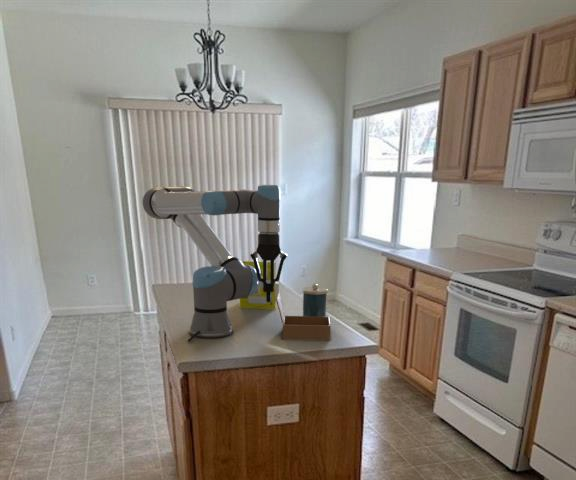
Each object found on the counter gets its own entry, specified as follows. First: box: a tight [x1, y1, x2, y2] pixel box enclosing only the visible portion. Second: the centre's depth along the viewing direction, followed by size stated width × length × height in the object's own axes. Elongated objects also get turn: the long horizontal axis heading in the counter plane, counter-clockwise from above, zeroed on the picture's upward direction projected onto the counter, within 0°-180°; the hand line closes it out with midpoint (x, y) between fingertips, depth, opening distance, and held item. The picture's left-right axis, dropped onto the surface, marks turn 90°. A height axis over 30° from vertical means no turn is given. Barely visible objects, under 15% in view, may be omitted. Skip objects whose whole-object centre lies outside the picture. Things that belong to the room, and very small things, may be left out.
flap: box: [275, 292, 286, 324], centre depth 192 cm, size 8×13×1 cm
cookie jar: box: [302, 283, 329, 317], centre depth 205 cm, size 10×10×16 cm
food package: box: [239, 260, 277, 310], centre depth 227 cm, size 15×1×20 cm, turn 84°
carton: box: [282, 315, 331, 341], centre depth 194 cm, size 17×13×5 cm
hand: (268, 300), depth 191 cm, fingers closed
